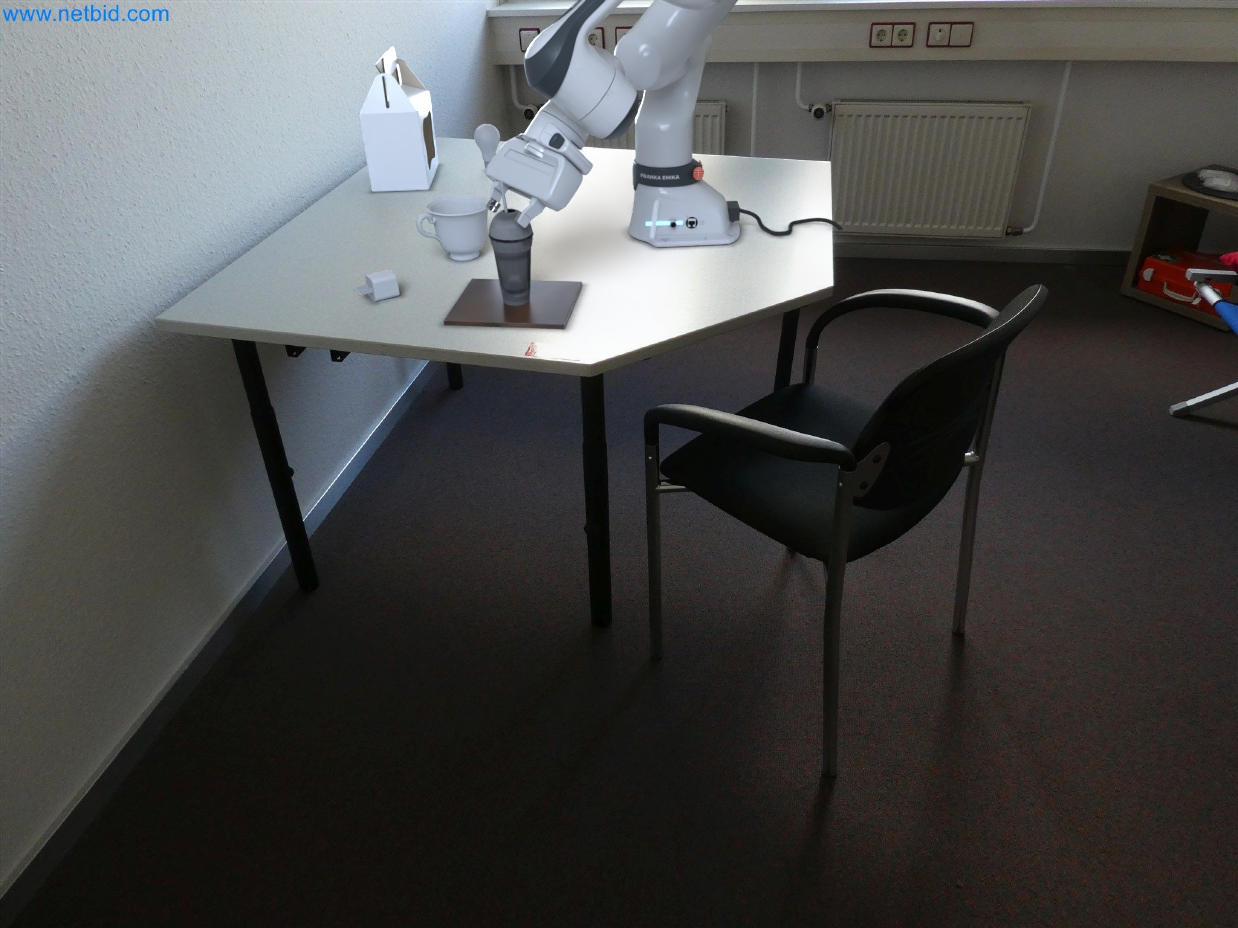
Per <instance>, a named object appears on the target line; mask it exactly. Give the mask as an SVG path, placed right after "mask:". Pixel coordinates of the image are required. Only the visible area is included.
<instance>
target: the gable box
mask: <svg viewBox="0 0 1238 928" xmlns="http://www.w3.org/2000/svg"><path fill="white" fill-rule="evenodd" d="M395 49H396V48H395V47H394V46H391V47H390V48H389V49H388V50H387V51H385V53H383V55H382V56H381V57H380V58H379V59H378V61H377V62H376V63H375V64H374V66H375V68H376V69H377V71H378V72H379V74H377V75H376V76H375V77H374V80H373V82H372V84H371V85H370V89H369V91H368V93H367V95H366V97H365V100H364V101H363V104H362V107H361V109H360V111H359V112H358V120H359V125H360V131H361V135H362V143H363V149H364V155H365V160H366V166H367V171H368V177H369V183H370V188H371V192H372V193H385V192H386V193H387V192H388V193H389V192H410V191H411V192H413V191H429V190H430V188H431V185H432V183H433V180H434V179H435V175H436V172H437V170H438V167H439V163H440V162H439V155H438V148H437V140H436V132H435V125H434V116H433V108H432V101H431V94H430V90H428V89H427V87H426V86H425V85H424V84H423V82H422V81H421V79H419V78H418V76H417V75H416V74H415V72H414V71H413V70H412V69H411V67H410V66H409V65H408V64H407V63H406V61H404V60H403V59H401V58H397V55H396V50H395Z"/></svg>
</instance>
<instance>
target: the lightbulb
mask: <svg viewBox="0 0 1238 928" xmlns="http://www.w3.org/2000/svg"><path fill="white" fill-rule="evenodd" d="M500 142H501V135H500V132H499V130H498V128H497V127H496V126H494V125H493V124H490V123H483V124H480V125H479V126H478V127H477V128H476V130H475V131H474V143H475V144H476V146H477V147H478V149H479V150H480V153H481V156H482V160H483V164H484V169H486V168H487V166H488V164H489V163H490V161H491V160H492V159H493V157H494V156H495V155H496V153H497V151H498V150H497V149H498V147H499V145H500Z"/></svg>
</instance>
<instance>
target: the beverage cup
mask: <svg viewBox="0 0 1238 928" xmlns="http://www.w3.org/2000/svg"><path fill="white" fill-rule="evenodd" d="M499 182H500V188H501V194H502V196H501V200H502V205H503V209H502V210H500V211H497V212H496V214H494V216H493V218H492V219H491V221H490V225H489V230H488V231H489V232H488V238H489V240H490V244H491V248H492V250H493V254H494V260H495V266H496V271H497V276H498V279H499V283H500V288H501V293H502V297H503V302H504V303H505V304H507V305H512V306H518V305H523V304H526V303H528V302H529V300H530V284H531V280H532V279H531V278H532V277H531V273H532V246H533V240H534V231H533V227H532V224H531V221H530V222H529V224H528V225H527V227H526V228H524V227H522V226H520V225H518V224H517V223H516V222H515V221H514V219H515V217H516V216H517V214H518V212H519V211H520V210H519V209H516V208H508V203H507V198H506V193H505V192H504V186H503V181H499Z"/></svg>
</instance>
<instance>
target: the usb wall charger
mask: <svg viewBox="0 0 1238 928" xmlns="http://www.w3.org/2000/svg"><path fill="white" fill-rule="evenodd" d="M364 279H365V284H362V285H359V286H356V287H353V292H357V295H358V296H364V295H368V297H369V298H370V299H372V300H373V301H374V302H375V303H376V302H380V301H384V300H387V299H392V298H396V297H399V296H400V288H399V283H398V282H399V281H398V277H397V274H395V272H393V271H392V270H391V269H390V268H389V269H384V270H380V271H375V272H372V273H371V272H370V273H366V274H365V275H364Z"/></svg>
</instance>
